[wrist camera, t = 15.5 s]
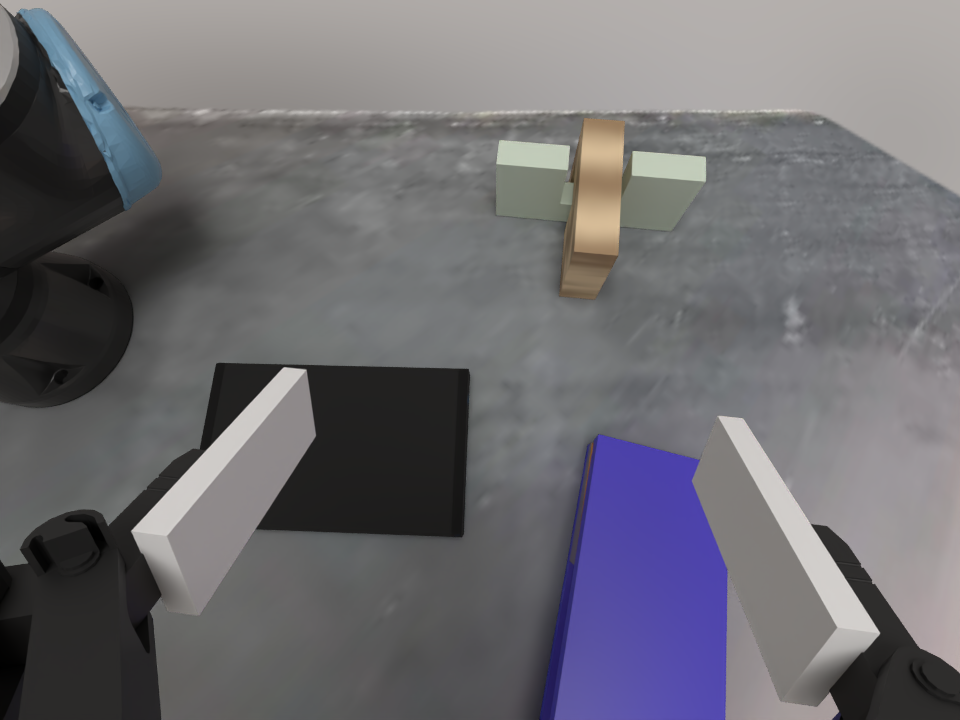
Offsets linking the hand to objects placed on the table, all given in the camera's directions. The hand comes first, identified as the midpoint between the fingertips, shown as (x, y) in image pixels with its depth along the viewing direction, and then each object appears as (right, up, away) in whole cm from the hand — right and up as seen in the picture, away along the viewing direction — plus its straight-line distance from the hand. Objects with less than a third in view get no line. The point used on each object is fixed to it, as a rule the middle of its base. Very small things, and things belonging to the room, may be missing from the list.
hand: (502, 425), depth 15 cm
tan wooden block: (+10, +15, +32) cm, 37 cm away
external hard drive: (-13, -6, +28) cm, 32 cm away
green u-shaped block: (+10, +17, +33) cm, 39 cm away
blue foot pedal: (+11, -19, +24) cm, 32 cm away
